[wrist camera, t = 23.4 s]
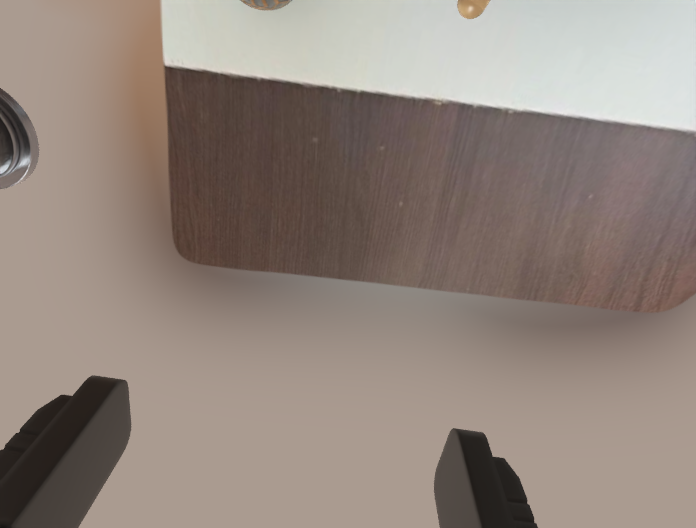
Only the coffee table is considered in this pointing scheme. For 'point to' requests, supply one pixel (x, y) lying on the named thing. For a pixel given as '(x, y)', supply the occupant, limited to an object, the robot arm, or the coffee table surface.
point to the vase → (266, 4)
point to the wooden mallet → (471, 8)
